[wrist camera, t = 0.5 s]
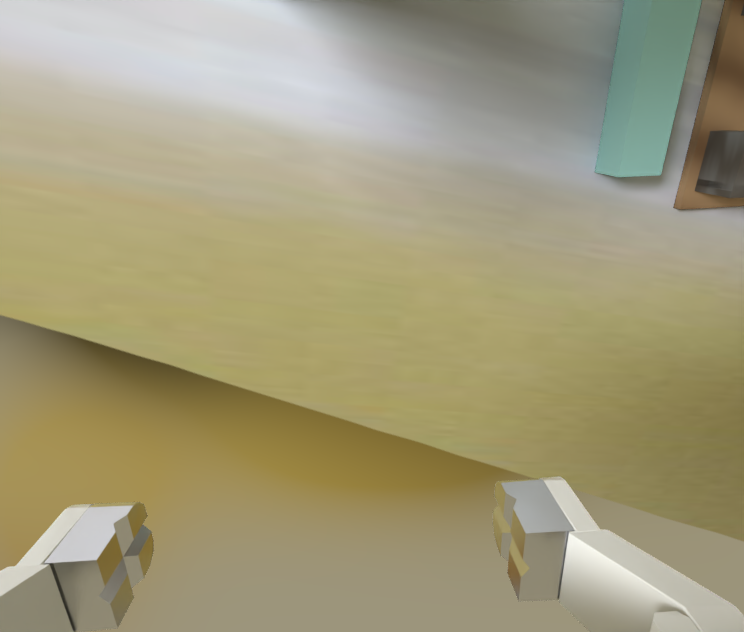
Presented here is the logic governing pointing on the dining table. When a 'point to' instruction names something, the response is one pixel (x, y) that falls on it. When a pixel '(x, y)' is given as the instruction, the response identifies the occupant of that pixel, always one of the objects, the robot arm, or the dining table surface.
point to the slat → (645, 85)
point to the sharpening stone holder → (719, 123)
